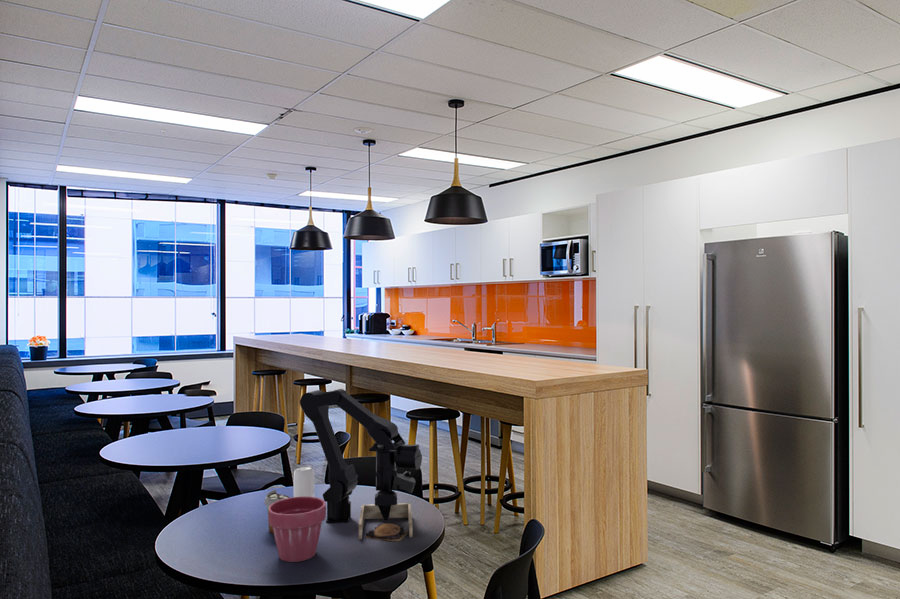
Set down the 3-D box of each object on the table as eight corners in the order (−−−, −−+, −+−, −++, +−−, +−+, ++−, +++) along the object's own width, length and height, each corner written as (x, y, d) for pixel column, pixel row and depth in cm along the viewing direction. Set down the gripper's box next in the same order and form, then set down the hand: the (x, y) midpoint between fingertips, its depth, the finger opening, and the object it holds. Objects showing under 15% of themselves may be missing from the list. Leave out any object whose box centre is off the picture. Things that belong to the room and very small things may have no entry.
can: (311, 508, 192) (311, 470, 192) (291, 508, 192) (291, 470, 192) (316, 502, 198) (316, 465, 199) (296, 502, 199) (296, 465, 199)
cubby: (358, 539, 166) (358, 524, 166) (361, 518, 183) (361, 504, 183) (412, 537, 168) (412, 522, 168) (410, 516, 184) (410, 503, 184)
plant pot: (277, 571, 146) (277, 517, 146) (261, 551, 158) (261, 502, 158) (334, 558, 154) (334, 507, 154) (315, 540, 166) (314, 493, 166)
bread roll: (410, 533, 172) (410, 520, 172) (398, 544, 164) (398, 530, 164) (376, 529, 175) (376, 516, 175) (362, 539, 167) (362, 526, 167)
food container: (256, 529, 174) (255, 494, 174) (275, 523, 179) (275, 489, 179) (279, 540, 166) (279, 503, 166) (299, 533, 171) (299, 497, 171)
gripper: (415, 474, 170) (415, 531, 169) (412, 458, 188) (412, 509, 188) (374, 475, 168) (374, 532, 168) (375, 459, 187) (376, 510, 187)
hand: (386, 520), depth 178 cm, fingers closed
